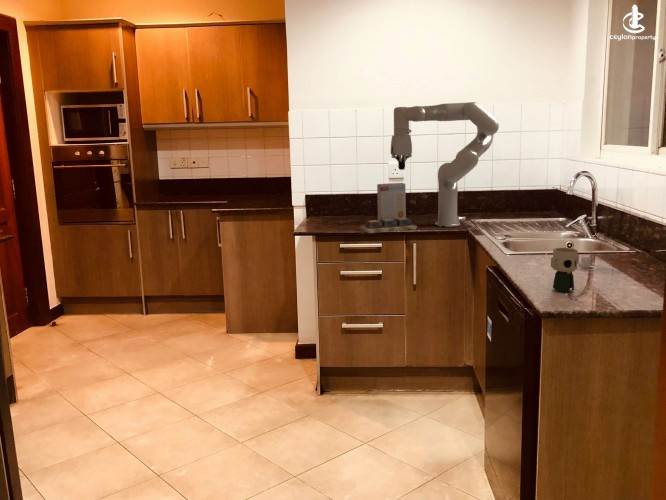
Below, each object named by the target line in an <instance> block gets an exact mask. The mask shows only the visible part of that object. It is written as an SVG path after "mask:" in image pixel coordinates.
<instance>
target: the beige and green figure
mask: <svg viewBox="0 0 666 500" xmlns="http://www.w3.org/2000/svg"><path fill="white" fill-rule="evenodd" d="M579 258H580V255H579V251H578V249H576V248H572V247H556V248H553V250H552V257H550V268H552V270H554V271H556V272H555V274H554V278H553V284H552V289H553V290H556V291H559V292H564V293H565V292H570V290H571V291H574V290H575V281H574V278H575V277H574V273H573V272H575V271H576V270H578V269H577V268H578V267H577V265H579V264H578V262H580V259H579Z"/></svg>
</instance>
